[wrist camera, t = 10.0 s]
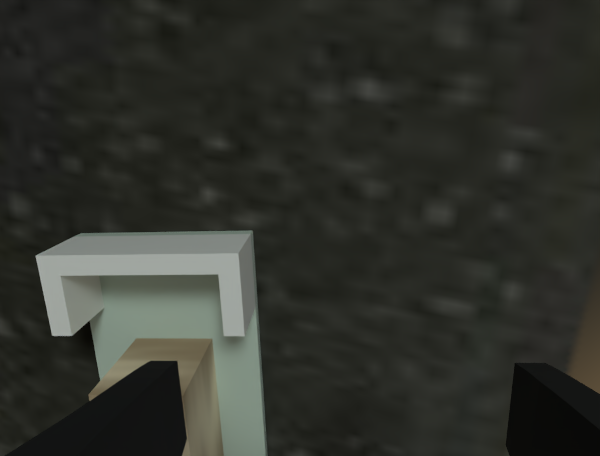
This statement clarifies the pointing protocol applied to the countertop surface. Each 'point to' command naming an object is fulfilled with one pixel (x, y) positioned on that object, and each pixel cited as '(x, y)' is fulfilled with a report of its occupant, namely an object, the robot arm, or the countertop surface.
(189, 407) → the tan rectangular block
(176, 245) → the endcap rail
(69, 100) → the countertop surface
